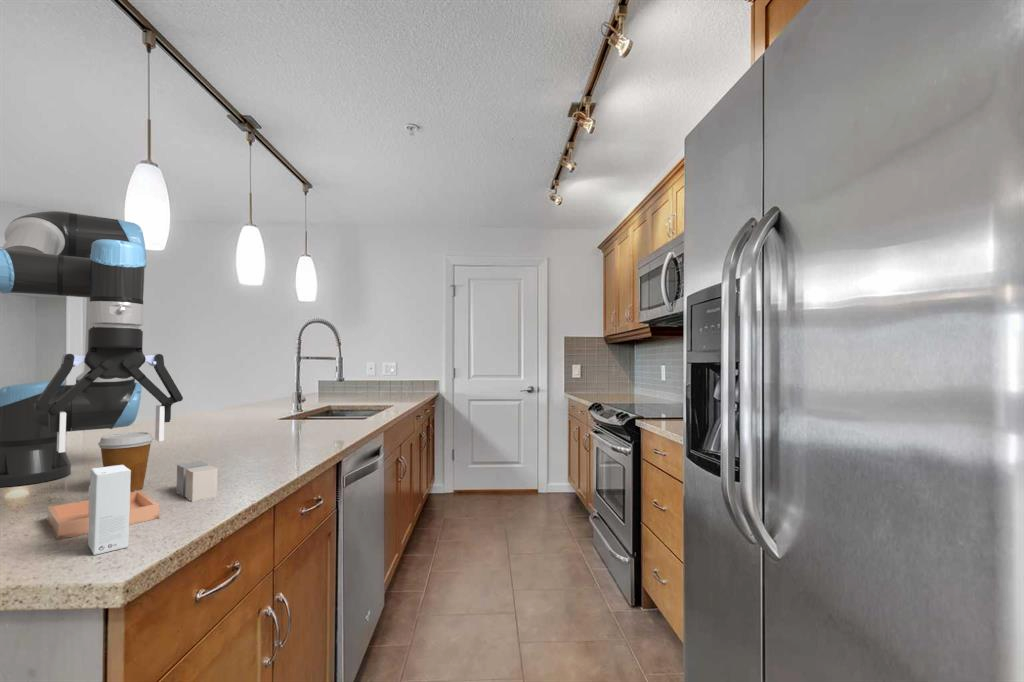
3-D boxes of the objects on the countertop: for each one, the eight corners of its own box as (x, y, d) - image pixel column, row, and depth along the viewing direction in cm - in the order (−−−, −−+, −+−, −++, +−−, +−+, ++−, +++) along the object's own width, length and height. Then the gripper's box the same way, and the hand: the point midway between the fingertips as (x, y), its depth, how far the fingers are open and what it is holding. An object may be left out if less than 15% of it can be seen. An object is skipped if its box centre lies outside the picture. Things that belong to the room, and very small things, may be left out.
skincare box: (129, 547, 73) (131, 469, 73) (93, 556, 70) (95, 474, 70) (122, 537, 77) (124, 463, 77) (87, 545, 74) (89, 468, 74)
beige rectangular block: (185, 497, 98) (185, 469, 99) (209, 493, 102) (210, 465, 102) (192, 502, 96) (193, 472, 96) (217, 497, 99) (217, 468, 99)
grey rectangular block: (176, 492, 102) (177, 464, 103) (200, 488, 106) (200, 461, 106) (183, 496, 99) (183, 467, 100) (207, 491, 103) (207, 464, 103)
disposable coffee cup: (128, 496, 99) (130, 439, 100) (84, 496, 99) (85, 438, 100) (162, 484, 109) (164, 431, 109) (122, 483, 109) (123, 431, 109)
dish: (47, 521, 84) (47, 506, 84) (140, 503, 95) (140, 490, 95) (58, 540, 76) (58, 524, 76) (159, 518, 86) (159, 504, 86)
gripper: (18, 322, 73) (13, 460, 72) (202, 329, 92) (200, 438, 91) (14, 324, 78) (10, 453, 77) (190, 330, 97) (188, 434, 96)
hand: (113, 445), depth 84 cm, fingers open, 13 cm apart
